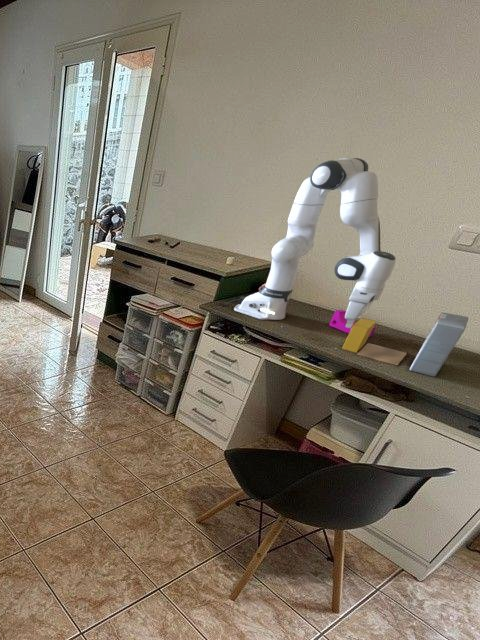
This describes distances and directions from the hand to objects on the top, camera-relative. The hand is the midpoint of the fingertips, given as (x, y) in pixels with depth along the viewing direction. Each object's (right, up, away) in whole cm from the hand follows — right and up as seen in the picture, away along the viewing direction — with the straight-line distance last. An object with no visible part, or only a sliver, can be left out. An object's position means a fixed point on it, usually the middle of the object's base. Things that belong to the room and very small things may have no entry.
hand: (351, 324), depth 179 cm
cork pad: (+9, -13, -4) cm, 16 cm away
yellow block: (+3, -9, +2) cm, 10 cm away
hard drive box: (+16, -19, -14) cm, 29 cm away
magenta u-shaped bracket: (+14, -1, +16) cm, 21 cm away
